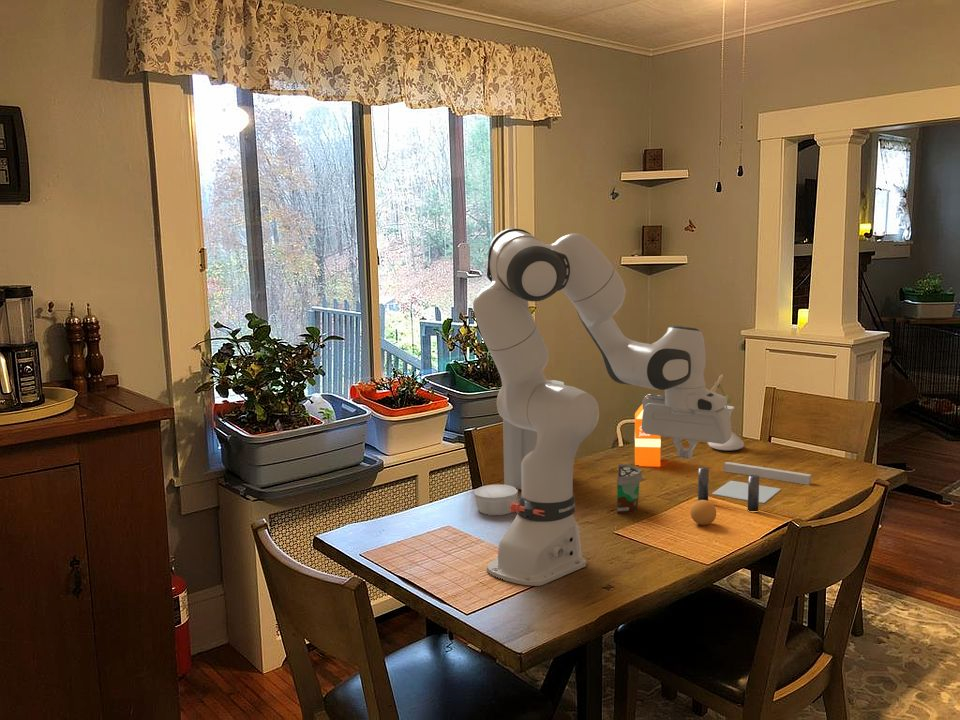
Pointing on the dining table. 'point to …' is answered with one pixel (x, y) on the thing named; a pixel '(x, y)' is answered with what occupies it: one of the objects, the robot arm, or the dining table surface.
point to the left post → (703, 483)
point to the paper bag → (517, 449)
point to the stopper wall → (768, 473)
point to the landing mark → (745, 491)
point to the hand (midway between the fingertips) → (685, 457)
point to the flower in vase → (734, 441)
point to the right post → (753, 492)
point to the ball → (703, 512)
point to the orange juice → (645, 444)
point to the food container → (628, 488)
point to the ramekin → (495, 499)
